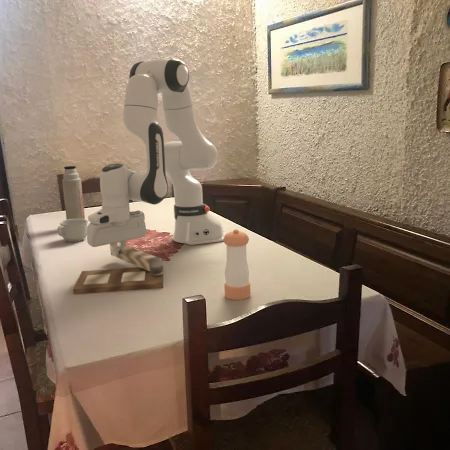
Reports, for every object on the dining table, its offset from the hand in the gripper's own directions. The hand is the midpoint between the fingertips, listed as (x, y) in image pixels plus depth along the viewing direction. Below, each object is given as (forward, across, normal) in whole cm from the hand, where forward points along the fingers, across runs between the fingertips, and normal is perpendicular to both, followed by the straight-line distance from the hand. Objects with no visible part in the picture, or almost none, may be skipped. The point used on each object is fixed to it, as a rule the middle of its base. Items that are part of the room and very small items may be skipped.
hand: (119, 254), depth 161 cm
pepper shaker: (+5, -13, +45) cm, 47 cm away
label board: (+5, +6, +12) cm, 14 cm away
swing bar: (+2, -3, +6) cm, 7 cm away
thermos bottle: (+5, -12, -65) cm, 66 cm away
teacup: (+5, -2, -45) cm, 45 cm away
